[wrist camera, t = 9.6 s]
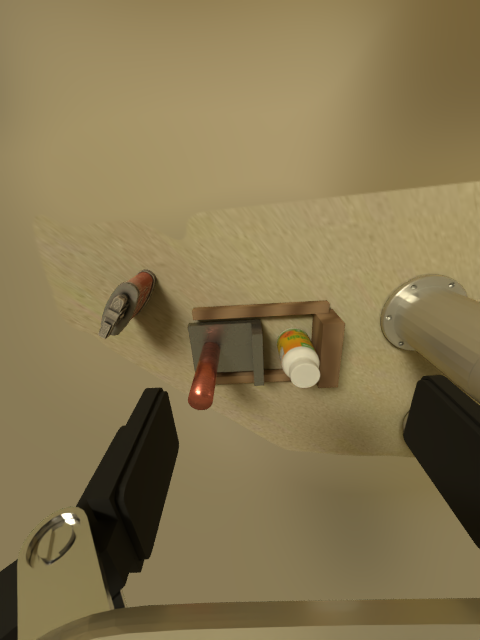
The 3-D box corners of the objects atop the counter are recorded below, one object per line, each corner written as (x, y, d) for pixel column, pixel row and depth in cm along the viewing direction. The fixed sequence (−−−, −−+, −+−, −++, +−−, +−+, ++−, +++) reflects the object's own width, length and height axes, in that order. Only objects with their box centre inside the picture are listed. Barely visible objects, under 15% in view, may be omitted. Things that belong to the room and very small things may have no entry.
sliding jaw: (260, 319, 41) (267, 366, 29) (261, 366, 45) (268, 425, 33) (189, 323, 41) (167, 371, 29) (196, 369, 45) (179, 428, 33)
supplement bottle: (310, 327, 42) (329, 360, 33) (306, 355, 44) (322, 393, 35) (278, 326, 42) (287, 358, 33) (274, 354, 44) (283, 391, 35)
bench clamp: (333, 300, 40) (346, 313, 35) (326, 373, 46) (336, 394, 40) (193, 307, 41) (186, 322, 36) (204, 379, 46) (199, 400, 41)
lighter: (140, 264, 38) (107, 283, 29) (161, 276, 39) (135, 298, 29) (120, 307, 41) (84, 336, 32) (139, 317, 41) (110, 349, 32)
